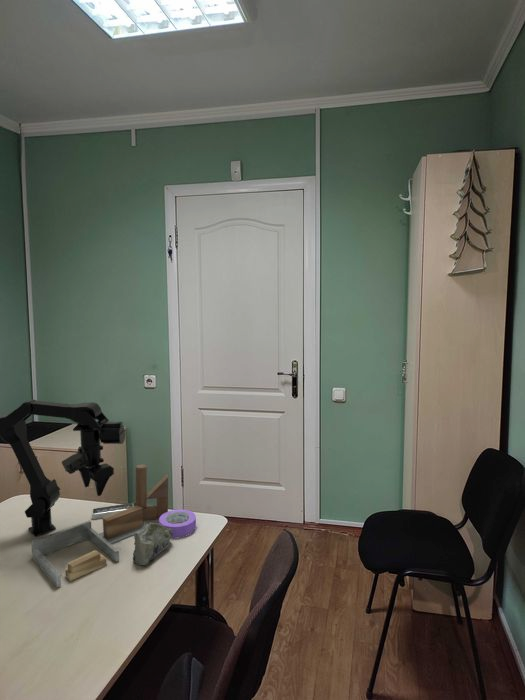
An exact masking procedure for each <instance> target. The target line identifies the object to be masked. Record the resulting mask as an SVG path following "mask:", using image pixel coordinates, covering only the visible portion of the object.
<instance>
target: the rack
mask: <svg viewBox="0 0 525 700" xmlns="http://www.w3.org/2000/svg"><path fill="white" fill-rule="evenodd" d="M87 539H89V540H91V542H93V544H95V545H96V546H97V547H99V549H100V550H101V551H103V553H105V554H106V555H107V556H108V557H110V559H112V560H113V561H114V562H115V563H117V562H119V561H120V552H119V551H120V550H119V549H117V548H116V547H115V546H114V544H110V543H109V542H108V541H107V540H105V539H104V538H103V537H102V536H101V535H100V534H99V532H98V531H96V530H95V529H94V528H92V522H91V520H87V521H84V522H81V523H78V524H76V525H73V526H70V527H67V528H65V529H61V530H58V531H56V532H54V533H50V534H48V535H45V536H41V537H40V538H36V539H33V540H31V542H30V543H31V546H30V547H31V557H32V558H31V559H33V561H35V563H36V564H37V565H38V566H39V568H40V569H41V570H42V571H43V573H44V574H45V576H47V578H48V579H49V580H50V582H51V583H52V584H54V585H55V587H56V588H60V587H61V586H62V579H61V573H59V572H58V571H57V570H56V568H55V567H54V566H53V565H52V563H50V561H49V560H48V559H47V558H46V557H45V555H48V554H50V553H53V552H56V551H59V550H61V549H63V548H66V547H68V546H71V545H74V544H77V543H80V542H82V541H85V540H87Z"/></svg>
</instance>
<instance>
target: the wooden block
mask: <svg viewBox="0 0 525 700" xmlns="http://www.w3.org/2000/svg"><path fill="white" fill-rule="evenodd" d="M147 470H148V467H147V465H146V464H137V465H135V486H134V487H135V491H134V493H135V498H134V499H135V502H134V503H135V506H137V505H139V506H140V507H142V508H143V521H145V520H156V519H157V520H159V518H160V516H161V515H162V514H164V513H166V512H168V511H169V475H168V473H166V474H165V475H164V476H163V477H162V478H161V479H160V481H158V482H157V484H155V485H154V486H153V487H152V488H151V489H150V490H149V491H148V492H147V486H148V484H147V483H148V482H147V480H148V479H147V478H148V477H147V473H148V471H147ZM151 499H152V500H153V499H156V505H152V504H147V501H148V500H151Z"/></svg>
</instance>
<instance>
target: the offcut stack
mask: <svg viewBox="0 0 525 700" xmlns="http://www.w3.org/2000/svg"><path fill="white" fill-rule="evenodd" d="M105 566H107V557H106V556H104V555H103V554H102V553H100V552H99V551H97V550H96V549H94V550H93V551H91V552H88V553H86V554H84V555H81V556H80V557H78V558H76V559H73V560H71V561H69V562H67V568H65V571H64V572H65V577H66V578H67V579H68V581H70V582H71V581H73V580H75V579H78V578H80V577H82V576H85V575H88V574H89V573H91V572H93V571H97V570H98V569H100V568H103V567H105Z"/></svg>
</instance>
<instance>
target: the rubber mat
mask: <svg viewBox="0 0 525 700" xmlns="http://www.w3.org/2000/svg"><path fill="white" fill-rule="evenodd" d="M147 525H148V524H145V523H144V522H143V526H141V527H139V528H136V529H134V530H131V531H129V532H126V533H124V534H121V535H119V536H116V537H114V538H111V539H109V540H108V539H106V538H105V537H104V534H103V531H102V532H98V534H100V535H101V536H102V537H103V538H104V539H105V540H107V541H108V542H109V543H110V544H111V545H114V544H116V543H119V542H120V541H121V542H122V541H123V540H126V539H128V538H131V537H133V536H135V533H136V532H138V531H140V530H141V529H143V528H144V527H146V526H147Z"/></svg>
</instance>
